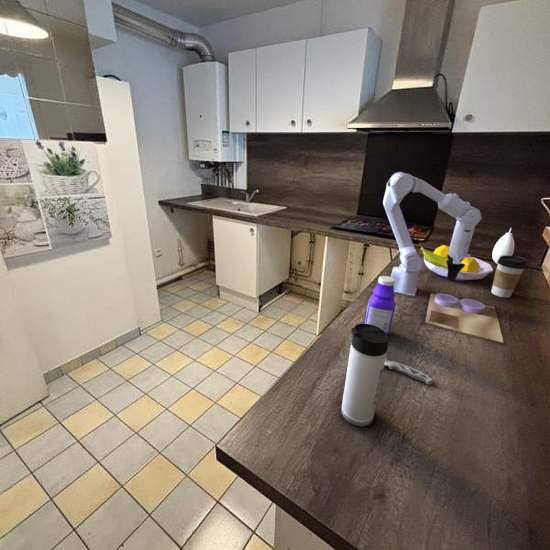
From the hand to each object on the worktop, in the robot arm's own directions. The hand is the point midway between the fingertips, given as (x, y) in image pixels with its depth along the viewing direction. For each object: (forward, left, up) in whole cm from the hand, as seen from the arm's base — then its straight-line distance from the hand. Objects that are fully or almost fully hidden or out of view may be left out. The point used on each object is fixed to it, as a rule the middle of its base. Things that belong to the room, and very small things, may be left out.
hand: (450, 276), depth 107 cm
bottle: (-17, -40, -8) cm, 44 cm away
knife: (-10, -54, -8) cm, 55 cm away
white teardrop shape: (+21, +52, +1) cm, 57 cm away
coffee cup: (+18, +11, -8) cm, 22 cm away
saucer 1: (0, -8, -7) cm, 11 cm away
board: (+5, -15, -7) cm, 17 cm away
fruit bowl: (+1, +25, -8) cm, 26 cm away
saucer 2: (+8, -8, -7) cm, 13 cm away
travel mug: (-14, -72, -8) cm, 74 cm away
